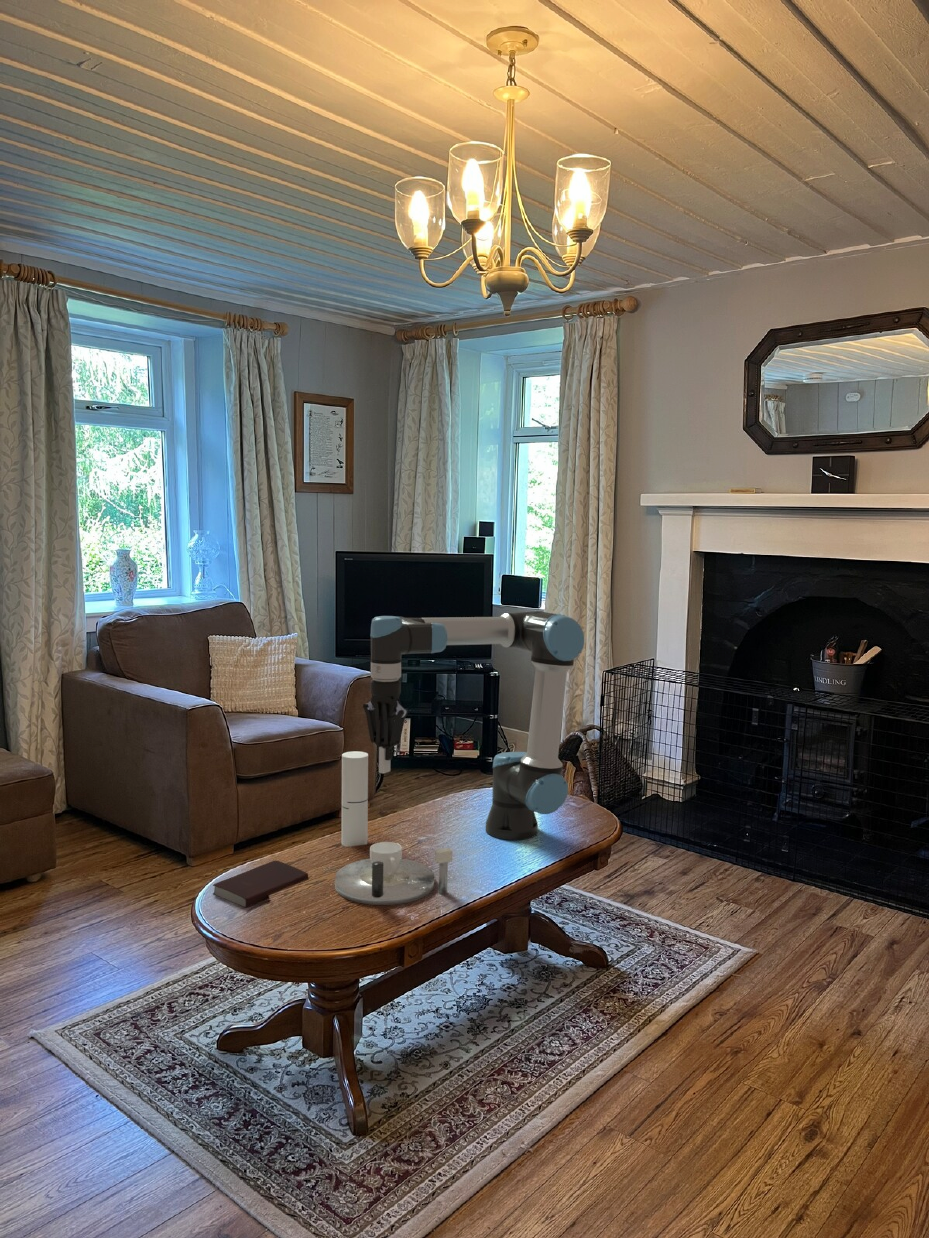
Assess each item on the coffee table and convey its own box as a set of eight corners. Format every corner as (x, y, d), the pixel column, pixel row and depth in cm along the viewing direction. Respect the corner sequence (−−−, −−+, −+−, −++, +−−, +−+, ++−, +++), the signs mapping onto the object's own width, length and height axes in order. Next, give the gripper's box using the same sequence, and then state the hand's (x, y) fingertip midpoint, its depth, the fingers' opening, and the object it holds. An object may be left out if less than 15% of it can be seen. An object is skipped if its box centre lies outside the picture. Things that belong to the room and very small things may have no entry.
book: (308, 884, 220) (308, 871, 219) (246, 910, 205) (246, 896, 204) (274, 871, 227) (274, 859, 227) (211, 895, 212) (211, 882, 212)
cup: (395, 866, 223) (395, 840, 222) (409, 881, 214) (409, 854, 213) (365, 870, 220) (365, 844, 219) (378, 886, 211) (378, 858, 210)
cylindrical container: (362, 848, 243) (363, 758, 240) (337, 846, 244) (338, 757, 241) (370, 839, 250) (371, 752, 247) (346, 837, 251) (346, 750, 248)
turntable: (345, 862, 229) (345, 827, 228) (438, 867, 228) (439, 831, 227) (324, 903, 205) (324, 863, 204) (428, 908, 204) (429, 868, 203)
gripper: (355, 677, 221) (354, 770, 224) (396, 684, 214) (395, 779, 217) (375, 673, 228) (374, 764, 230) (415, 679, 220) (414, 773, 223)
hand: (384, 771), depth 223 cm, fingers closed
